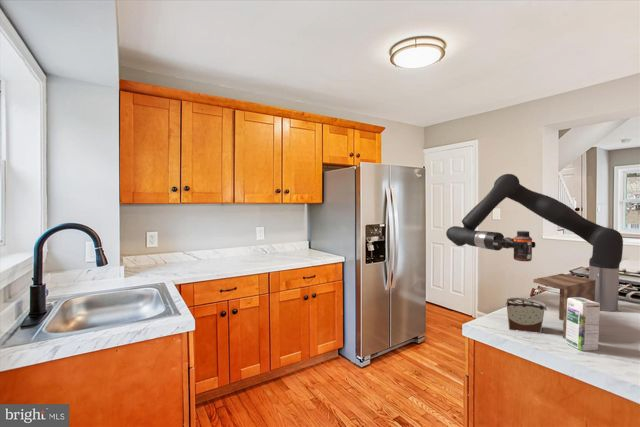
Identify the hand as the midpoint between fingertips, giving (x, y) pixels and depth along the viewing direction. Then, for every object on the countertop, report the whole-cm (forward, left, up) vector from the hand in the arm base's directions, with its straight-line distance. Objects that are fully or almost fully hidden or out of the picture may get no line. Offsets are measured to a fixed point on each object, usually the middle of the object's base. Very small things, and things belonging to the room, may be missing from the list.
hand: (529, 245), depth 120 cm
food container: (+12, +5, -28) cm, 31 cm away
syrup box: (+10, +22, -28) cm, 37 cm away
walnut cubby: (0, +11, -28) cm, 30 cm away
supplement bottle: (0, -2, -6) cm, 7 cm away
